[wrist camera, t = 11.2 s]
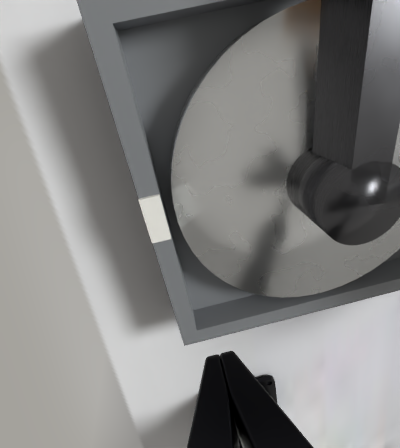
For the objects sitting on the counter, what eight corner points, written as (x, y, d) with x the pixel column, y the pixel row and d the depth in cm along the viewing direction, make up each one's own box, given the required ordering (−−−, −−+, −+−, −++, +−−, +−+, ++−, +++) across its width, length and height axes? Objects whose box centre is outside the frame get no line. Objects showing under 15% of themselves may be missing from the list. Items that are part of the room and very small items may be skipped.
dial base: (411, 251, 22) (453, 278, 19) (180, 309, 21) (184, 348, 18) (465, -62, 14) (556, -103, 11) (92, 14, 13) (73, -7, 10)
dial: (405, 260, 20) (478, 311, 16) (190, 301, 19) (201, 369, 14) (487, -75, 12) (678, -163, 8) (131, -39, 11) (117, -119, 7)
